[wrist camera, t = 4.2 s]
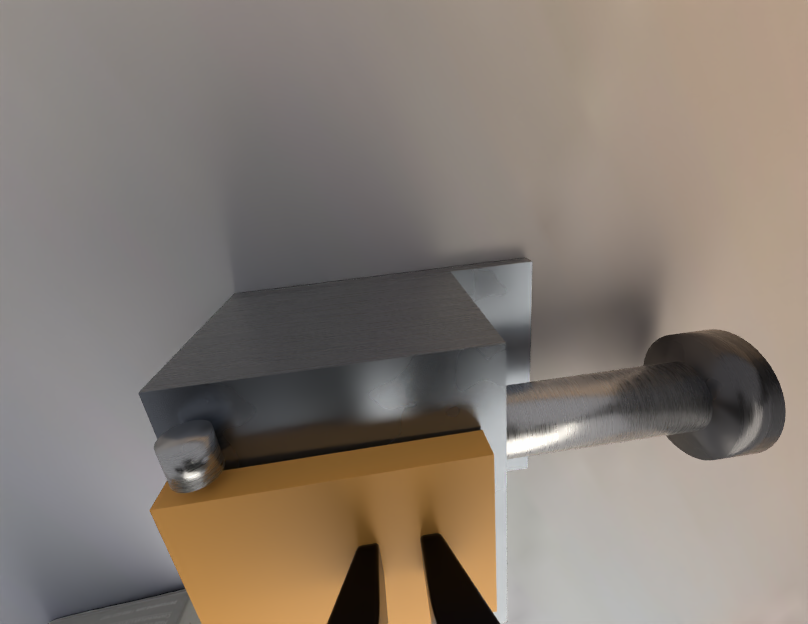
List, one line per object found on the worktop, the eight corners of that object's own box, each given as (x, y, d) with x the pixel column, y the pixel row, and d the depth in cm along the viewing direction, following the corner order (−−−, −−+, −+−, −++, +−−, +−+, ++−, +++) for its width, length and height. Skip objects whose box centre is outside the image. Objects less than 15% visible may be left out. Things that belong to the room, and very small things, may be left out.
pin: (686, 311, 13) (802, 366, 9) (669, 405, 14) (765, 482, 11) (330, 359, 12) (318, 436, 9) (348, 452, 13) (344, 550, 10)
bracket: (526, 257, 12) (674, 346, 6) (522, 458, 15) (622, 645, 9) (234, 293, 12) (106, 425, 6) (289, 494, 15) (240, 713, 9)
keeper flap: (482, 429, 8) (494, 454, 7) (487, 580, 9) (497, 611, 9) (167, 479, 7) (149, 510, 7) (230, 627, 9) (220, 664, 8)
